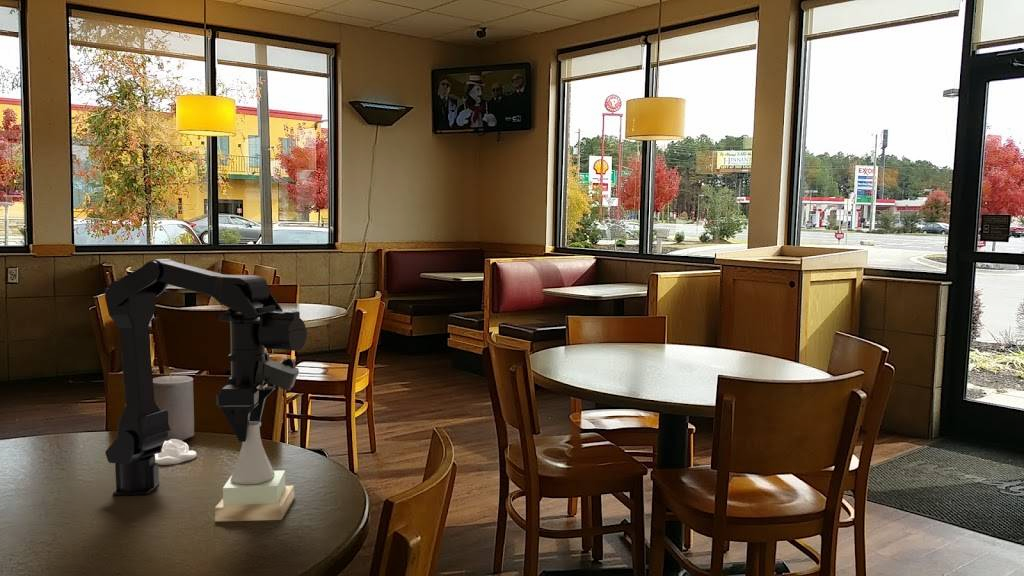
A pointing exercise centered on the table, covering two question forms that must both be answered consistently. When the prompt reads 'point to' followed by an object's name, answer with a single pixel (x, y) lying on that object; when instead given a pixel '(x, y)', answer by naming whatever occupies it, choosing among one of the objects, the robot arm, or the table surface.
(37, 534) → the table surface
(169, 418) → the pillar candle
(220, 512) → the tower base
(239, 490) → the tower top
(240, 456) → the flask
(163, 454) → the rose
